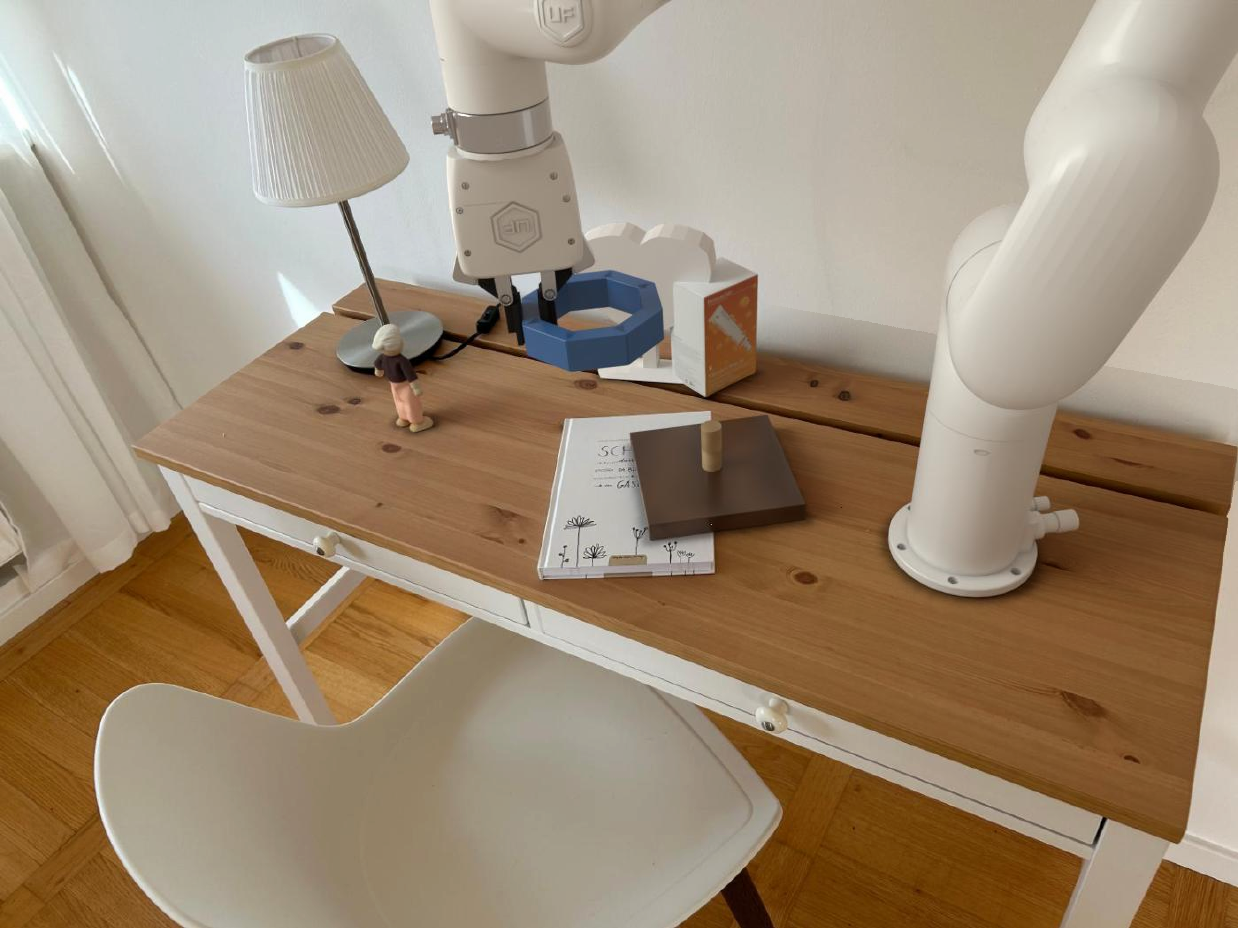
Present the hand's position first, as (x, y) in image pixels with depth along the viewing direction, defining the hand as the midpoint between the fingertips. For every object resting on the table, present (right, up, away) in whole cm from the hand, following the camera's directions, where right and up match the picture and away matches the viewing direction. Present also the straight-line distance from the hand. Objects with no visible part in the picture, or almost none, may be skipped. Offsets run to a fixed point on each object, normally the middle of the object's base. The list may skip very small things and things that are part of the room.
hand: (534, 335), depth 79 cm
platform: (+17, -13, +12) cm, 25 cm away
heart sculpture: (+11, 0, +30) cm, 32 cm away
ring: (+5, 0, +1) cm, 5 cm away
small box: (+19, -1, +28) cm, 34 cm away
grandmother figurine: (-17, -7, +26) cm, 31 cm away
